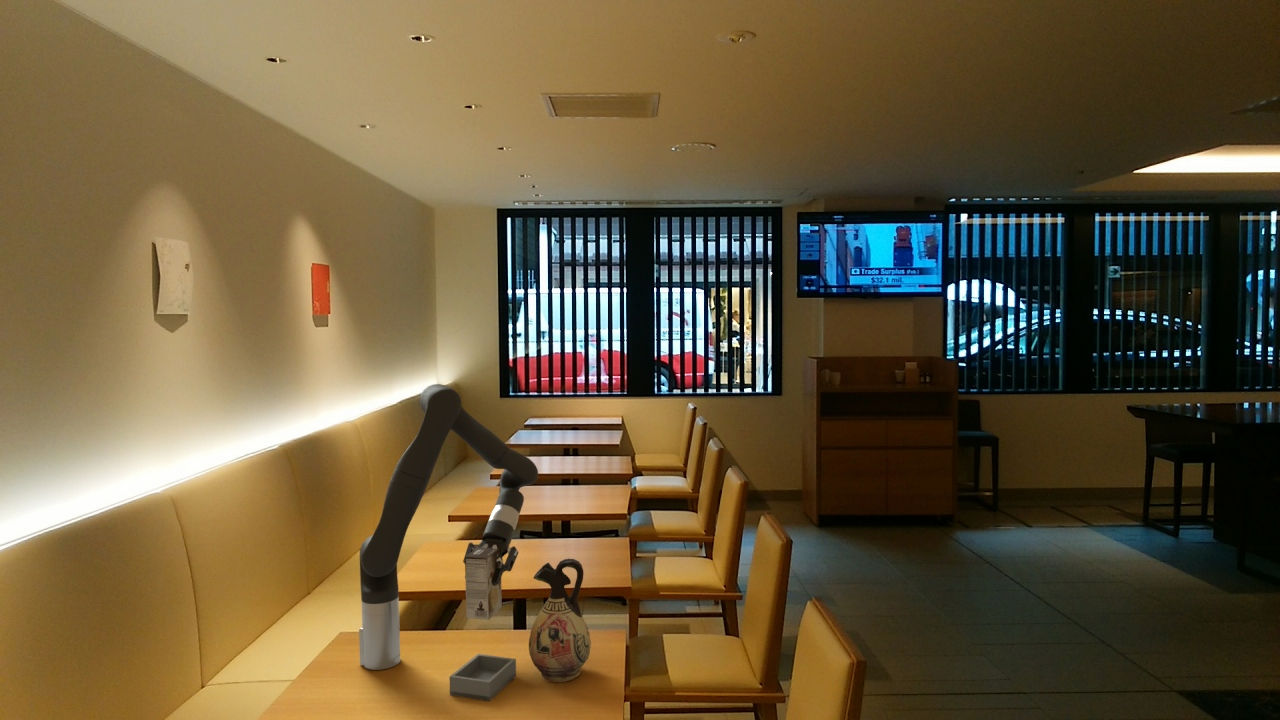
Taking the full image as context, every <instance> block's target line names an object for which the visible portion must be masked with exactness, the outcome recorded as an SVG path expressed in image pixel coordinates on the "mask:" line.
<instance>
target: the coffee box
mask: <svg viewBox="0 0 1280 720" xmlns="http://www.w3.org/2000/svg"><path fill="white" fill-rule="evenodd" d="M499 552H500V548H498V549H493V548H492V547H488V548H482V547H478V548H476V549H475V550H474V551H472V552H471V553H470V554H468V555H467V556H465V555H464V557H465V564H464V567H465V569H464V572H465V573H464V579H465V607H466V609H465V610H466V619H472V620H484V621H485V620H486V621H489V620H491V618H492V617H493V616H495V614H497V612H498V611H500V609H502V606H503V601H502V600H503V599H502V598H503V597H502V596H503V594H502V593H503V592H502V579H501V580H500V582H499V584H497V586H493V584H492V583H491V581H492V578H493V575H494V572H495V569H497V564H496V563H497V556H498V553H499Z"/></svg>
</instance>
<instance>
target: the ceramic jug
mask: <svg viewBox="0 0 1280 720" xmlns="http://www.w3.org/2000/svg"><path fill="white" fill-rule="evenodd" d="M564 568H571V569H573V570H575V571H576V579H575V584H574V587H573V589H572V592H571V594H570V596H569V595H568V593H567V591H566V588H565V587H566V586H568V585H571V583H572V580H571V579H570V577H569V576H568V575H567V574H565V572H563V569H564ZM532 578H533V579H534V580H535V581H539V582H543V583H545V584H548V585H549V587H550V589H551V592H550V595H549V596H548V599H547V600H546V601H545V603H544V604H543V606H542V608H540V611H539V612H538V614H537V616H536V618H535V620H534V621H533V624H532V625H531V626H532V627H531V629H530V635H529V639H528V652H529V653H528V654H529V656H530V659H531V661H532V663H533V665H534V666H535V668H536V669H537V670H538V671H539V672H540V673H541V677H542V679H543V678H544V679H543V680H545V681H547V682H550V683H564V682H565V683H566V682H569V681H572V680H574V679H576V678H577V677H579V676H580V675H581V669H582V668H583V667H584V665H585V664H586V662H587V660H589V656H590V653H591V648H592V647H591V646H592V645H591V644H592V642H591V637H590V635H591V634H590V631H589V627H588V625H587V623H586V621H585V619H584V617H583V616H582V612H581V609H580V604H579V602H578V596H579V594H580V591H581V588H582V583H583V580H584V568H583V565H582V563H581V562H580V561H579V560H576V559H575V558H566V559H563V560H560V561H559V563H558V564H557V565H556V567H555V568H554V567H553V565H551V564H550V562H547V563H545V564H544V565H542V566H541V568H540V569H538V570H537V572H535V574H534V576H533V577H532Z"/></svg>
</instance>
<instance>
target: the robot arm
mask: <svg viewBox="0 0 1280 720" xmlns="http://www.w3.org/2000/svg"><path fill="white" fill-rule="evenodd" d="M419 404H420V408H421V410H422V412H423V413H424V416H423V419H422V421H421V425H420V427H419V430H418V432H417V434H416V436H415V438H414V439H413V440H412V442H411V443H410V445H409V446H408V447H406V449H405V451H404V452H403V454H402V456H401V457H400V458H399V460H398V461H397V464H396V466H395V468H394V471H393V473H392V475H391V478H390V480H389V484H388V486H387V490H386V494H385V498H384V502H383V508H382V512H381V515H380V519H379V521H378V524H377V526H376V528H375V530H374V532H373V534H372V535H370V536H368V537H367V538H366V539H365V540H363V542H362V544H361V545H360V548H359V576H360V577H359V578H360V581H359V582H360V596H361V597H360V598H361V621H362V623H361V625H362V627H360V628H359V629H358V635H359V636H358V637H359V638H358V639H359V665H360V666H363V667H364V668H365V669H367V670H371V671H372V670H374V671H377V670H378V671H379V670H387V669H390V668H394V667H395V666H397V665H398V664H399V663H400V662H401V637H400V635H401V633H400V632H401V630H400V629H401V628H400V602H399V600H400V598H399V597H400V596H399V595H400V593H399V592H400V591H399V581H398V580H399V579H398V561H399V558H400V554H401V551H402V546H403V543H404V540H405V537H406V534H407V531H408V528H409V527H410V523H411V522H412V520H413V517H414V515H416V512H417V510H418V508H419V506H420V503H421V501H422V499H423V497H424V494H425V493H426V490H427V487H428V485H429V483H430V480H431V477H432V475H433V472H434V469H435V467H436V464H437V461H438V459H439V456H440V454H441V451H442V449H443V446H444V443H445V441H446V439H447V437H448V435H449V433H450V431H452V432H454V433H455V435H457V436H458V437H459V438H461V440H463V442H465V444H467V445H468V446H469V447H470V448H471V449H472V450H473V451H474V452H475V453H476V454H478V456H479V457H480V458H481V459H483V460H484V462H486V463H487V464H488V465H490V466H491V467H492V468H493V469H495V470H503V471H502V473H501V475H500V480H499V492H498V497H497V500H496V502H495V505H494V508H493V510H492V511H491V513H490V516H489V518H488V522H487V523H486V526H485V529H484V531H483V533H482V538H481V540H480V543H478V544H474V543H473V542H471V541H470V542H469V543H468V545H467V547H466V550H465V555H464V557H463V560H462V563H464V565H465V556H467V555H468V554H470V553H471V552H472V551H474V550H475V549H476V548H478V547H482V548H488V547H492V548H493V549H498V548H500V552H499V553H498V556H497V563H496V564H497V569H495V572H494V575H493V578H492V581H491V583H492V584H493V586H497V584H499V582H500V580H501V581H502V578H503V577H502V576H503V574H504V573H505V572H512V570H513V568H514V565H515V562H516V560H517V558H518V554H519V550H518V549H517V547H516V546H512V547H510V545H511V542H512V540H513V536H514V534H515V531H516V528H517V526H518V525H517V524H518V522H519V518H520V514H521V511H522V508H523V505H524V501H525V497H524V494H523V493H522V492H521V491H520V489H521V488H523V487H528V486H530V485H533V484H534V483H535V482H536V481H537V480H538V477H539V471H538V467H537V465H536V464H535V463H534V462H533V460H531V459H530V458H529V457H527V456H525V455H523V454H522V453H520V452H518V451H517V450H515V449H512V448H510V447H509V445H507V444H506V443H505V442H504V441H503V440H502V439H501V438H499V437H498V436H497V435H496V434H495V433H494V432H493V431H491V430H490V429H489V428H488V427H486V426H485V425H483V424H482V423H481V422H479V421H478V420H476V419H475V418H474V417H473V416H472V415H470V413H469V412H467V410H466V409H464V408H463V406H462V398H461V396H460V394H459V392H458V391H456V390H455V389H453V388H452V387H449V386H447V385H445V384H442V383H441V384H440V383H438V384H436V383H434V384H431V385H428V386H427V387H425V388H424V389H423V390H422V392H421V394H420V398H419ZM506 555H507V557H506V559H505V561H504V559H503V557H505V556H506Z"/></svg>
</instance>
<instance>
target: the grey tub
mask: <svg viewBox="0 0 1280 720" xmlns="http://www.w3.org/2000/svg"><path fill="white" fill-rule="evenodd" d="M516 659H517V658H511V657H504V656H498V655H497V656H496V655H488V654H484V653H483V654H482V653H477V654H476V655H474V656H473V657H472V658H471V659H469V660H468V661H467V662H466V663H464V665H462V666H461V667H459V668H458V669H457V670H456V671H455V672H454V673H452V674H451V675H449V696H452V697H453V696H454V697H460V698H461V697H462V698H466V699H467V698H468V699H475V700H480V701H487V702H490V701H492V700H493V699H492V698H495V697H496V696H497V695H498V694H499V693H500V692H501V691H503V689H504V688H505V687H506V685H509V684H510V683H511V682H512V681H513V680H514V679H515V678H516V677H517V663H516V662H517V660H516ZM509 682H510V683H509ZM508 683H509V684H508Z"/></svg>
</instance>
